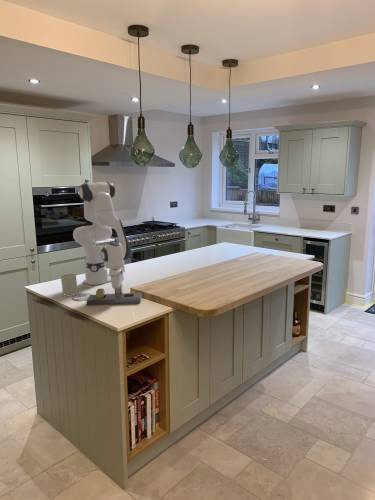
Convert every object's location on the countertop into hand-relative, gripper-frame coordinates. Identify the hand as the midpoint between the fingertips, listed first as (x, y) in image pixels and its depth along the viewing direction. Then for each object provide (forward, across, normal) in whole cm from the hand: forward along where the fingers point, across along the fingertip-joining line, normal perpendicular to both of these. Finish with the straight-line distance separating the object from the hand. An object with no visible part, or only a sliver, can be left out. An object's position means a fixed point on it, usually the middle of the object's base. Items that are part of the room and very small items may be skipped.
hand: (119, 291), depth 230 cm
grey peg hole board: (+3, +8, -1) cm, 9 cm away
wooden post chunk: (+3, 0, 0) cm, 3 cm away
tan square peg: (+3, +8, -9) cm, 13 cm away
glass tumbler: (+3, -10, -32) cm, 34 cm away
